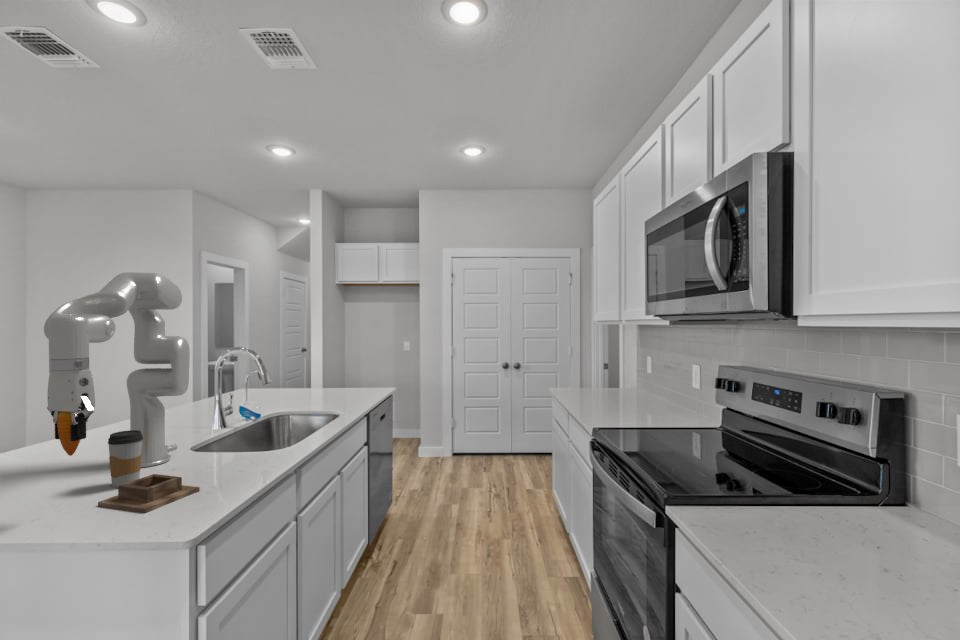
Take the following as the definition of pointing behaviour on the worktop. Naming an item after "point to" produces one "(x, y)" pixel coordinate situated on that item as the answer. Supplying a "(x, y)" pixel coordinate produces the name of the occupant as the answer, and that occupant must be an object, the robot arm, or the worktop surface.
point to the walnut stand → (148, 493)
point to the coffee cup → (125, 456)
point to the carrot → (66, 432)
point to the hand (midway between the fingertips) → (70, 438)
